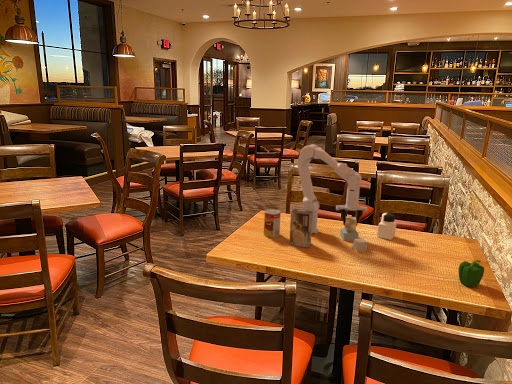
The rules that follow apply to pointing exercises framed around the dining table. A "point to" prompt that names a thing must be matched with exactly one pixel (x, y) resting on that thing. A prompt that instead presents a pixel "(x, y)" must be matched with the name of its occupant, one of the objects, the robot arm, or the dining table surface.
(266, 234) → the canned food
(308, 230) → the coffee box
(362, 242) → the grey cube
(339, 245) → the dining table surface
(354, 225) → the maple cube
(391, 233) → the medicine bottle
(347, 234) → the slate block
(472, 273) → the bell pepper
